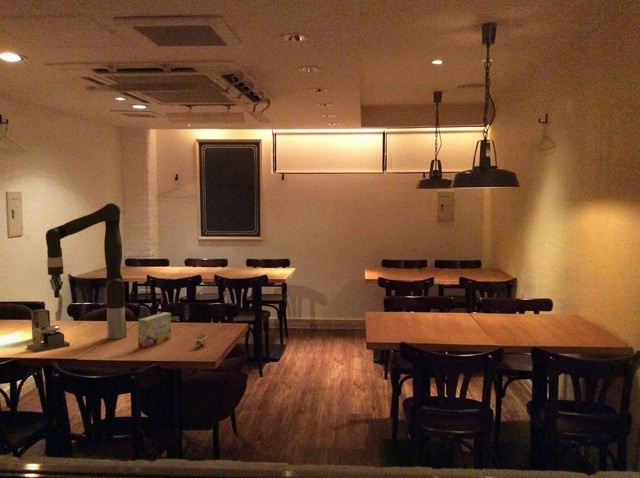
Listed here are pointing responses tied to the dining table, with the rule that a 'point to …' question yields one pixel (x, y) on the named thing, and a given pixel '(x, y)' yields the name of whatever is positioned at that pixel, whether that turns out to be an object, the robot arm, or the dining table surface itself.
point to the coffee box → (40, 320)
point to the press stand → (47, 341)
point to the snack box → (154, 329)
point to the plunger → (50, 329)
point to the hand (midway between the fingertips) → (56, 297)
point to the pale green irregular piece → (200, 339)
